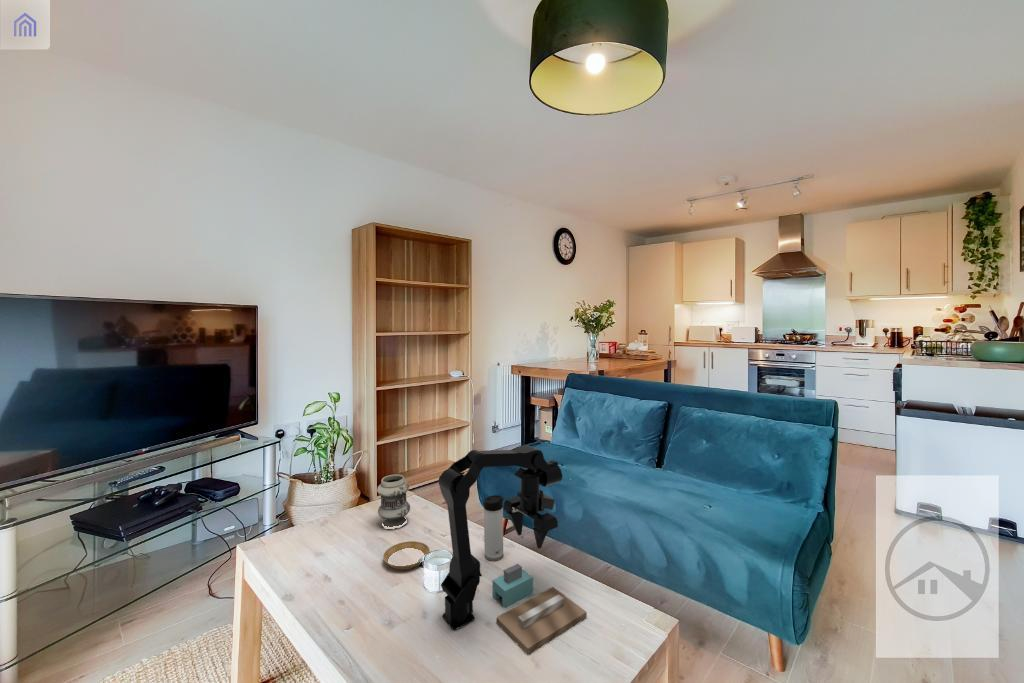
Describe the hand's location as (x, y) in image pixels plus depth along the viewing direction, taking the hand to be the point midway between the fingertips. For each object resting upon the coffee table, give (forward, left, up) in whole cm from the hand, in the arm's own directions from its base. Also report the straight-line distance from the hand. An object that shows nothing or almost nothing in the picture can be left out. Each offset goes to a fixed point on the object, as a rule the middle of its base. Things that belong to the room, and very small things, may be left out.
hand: (529, 541), depth 124 cm
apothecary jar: (-18, +60, -13) cm, 64 cm away
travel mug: (0, +18, -13) cm, 23 cm away
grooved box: (-7, -1, -13) cm, 15 cm away
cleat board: (-7, -14, -13) cm, 20 cm away
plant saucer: (-24, +34, -14) cm, 44 cm away
